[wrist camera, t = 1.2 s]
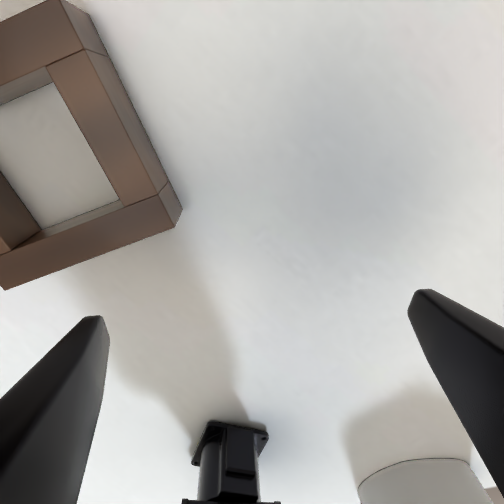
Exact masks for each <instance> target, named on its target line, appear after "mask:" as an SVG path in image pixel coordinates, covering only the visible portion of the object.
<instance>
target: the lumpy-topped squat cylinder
mask: <svg viewBox="0 0 504 504" xmlns="http://www.w3.org/2000/svg"><path fill="white" fill-rule="evenodd" d="M358 495H359V498H360V502H361V504H494V503H493V502H492V500H491V499H490V497H489V496H488V494H487V493H486V491H485V489H484V488H483V486H482V485H481V483H480V482H479V480H478V478H477V477H476V475H475V474H474V472H473V471H472V469H471V468H470V466H469V465H468V464H467V463H466V462H464V461H462V460H458V459H420V460H410V461H405V462H401V463H398V464H395V465H392V466H390V467H387V468H385V469H382V470H380V471H378V472H376V473H374V474H373V475H371V476H370V477H368V478H367V479H366V480H365V481H364V482H363V483H362V484H361V485H360V486H359V489H358Z"/></svg>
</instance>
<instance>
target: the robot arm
mask: <svg viewBox="0 0 504 504" xmlns="http://www.w3.org/2000/svg"><path fill="white" fill-rule="evenodd" d="M408 317H409V320H410V322H411V324H412V327H413V329H414V331H415V334H416V336H417V338H418V340H419V343H420V345H421V347H422V350H423V352H424V354H425V356H426V359H427V361H428V363H429V365H430V367H431V368H432V370H433V372H434V374H435V376H436V377H437V379H438V381H439V383H440V385H441V386H442V388H443V390H444V392H445V394H446V395H447V397H448V399H449V401H450V403H451V404H452V406H453V408H454V410H455V412H456V413H457V415H458V417H459V419H460V421H461V422H462V424H463V426H464V428H465V429H466V431H467V433H468V435H469V437H470V438H471V440H472V442H473V444H474V446H475V447H476V449H477V451H478V453H479V455H480V456H481V458H482V460H483V462H484V464H485V465H486V467H487V469H488V471H489V472H490V474H491V476H492V478H493V480H494V481H495V483H496V485H497V487H498V489H499V490H500V492H501V494H502V496H503V498H504V327H502V326H500V325H498V324H496V323H494V322H492V321H490V320H489V319H487V318H485V317H483V316H481V315H479V314H477V313H475V312H473V311H472V310H470V309H468V308H466V307H464V306H462V305H460V304H458V303H457V302H455V301H453V300H451V299H449V298H447V297H445V296H443V295H442V294H440V293H438V292H436V291H434V290H432V289H420V290H417V291H416V292H415V293H414V295H413V298H412V300H411V303H410V305H409V307H408ZM109 346H110V338H109V334H108V331H107V328H106V325H105V322H104V319H103V317H102V316H100V315H97V316H87V317H84V318H83V319H82V320H81V321H80V322H79V323H78V324H77V325H76V326H75V327H74V328H73V329H71V330H70V331H69V332H68V333H67V334H66V335H65V336H64V337H63V338H62V339H61V340H60V341H59V342H58V343H57V344H56V345H55V346H54V347H53V348H52V349H51V350H50V351H49V352H48V353H47V354H46V355H45V356H44V357H43V358H42V359H41V360H40V361H39V362H38V363H37V364H36V365H35V366H33V367H32V368H31V369H30V370H29V371H28V372H27V373H26V374H25V375H24V376H23V377H22V378H21V379H20V380H19V381H18V382H17V383H16V384H15V385H14V386H13V387H12V388H11V389H10V390H9V391H8V392H7V393H6V394H5V395H4V396H3V397H2V398H1V399H0V504H77V500H78V496H79V492H80V488H81V484H82V480H83V476H84V472H85V468H86V464H87V460H88V456H89V452H90V448H91V444H92V440H93V436H94V432H95V428H96V424H97V420H98V416H99V412H100V408H101V403H102V399H103V392H104V385H105V377H106V369H107V361H108V354H109ZM268 439H269V436H268V433H267V432H264V431H259V430H254V429H249V428H244V427H238V426H233V425H228V424H223V423H218V422H208V423H207V425H206V427H205V429H204V431H203V434H202V436H201V438H200V441H199V443H198V445H197V447H196V450H195V452H194V454H193V457H192V461H191V464H192V465H194V466H199V467H200V472H199V483H198V495H197V500H188V499H182V504H281V502H279V501H274V503H271V502H261V499H260V484H259V470H258V457H259V455H260V453H261V452H262V450H263V448H264V446H265V445H266V443H267V441H268Z"/></svg>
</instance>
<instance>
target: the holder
mask: <svg viewBox="0 0 504 504" xmlns="http://www.w3.org/2000/svg"><path fill="white" fill-rule="evenodd" d="M52 82H54V84H55V85H56V87H57V89H58V91H59V93H60V94H61V96H62V98H63V100H64V101H65V103H66V105H67V107H68V108H69V110H70V112H71V114H72V116H73V117H74V119H75V121H76V123H77V124H78V126H79V128H80V130H81V131H82V133H83V135H84V137H85V139H86V140H87V142H88V144H89V146H90V147H91V149H92V151H93V153H94V154H95V156H96V158H97V160H98V162H99V163H100V165H101V167H102V169H103V170H104V172H105V174H106V176H107V177H108V179H109V181H110V183H111V185H112V186H113V188H114V190H115V192H116V193H117V195H118V197H119V199H120V200H118V201H116V202H113V203H110V204H108V205H105V206H103V207H100V208H98V209H95V210H92V211H90V212H87V213H85V214H82V215H80V216H77V217H75V218H72V219H69V220H67V221H64V222H62V223H59V224H57V225H54V226H51V227H49V228H46V229H44V230H41V229H40V227H39V226H38V224H37V223H36V221H35V220H34V219H33V217H32V216H31V214H30V213H29V212H28V210H27V209H26V207H25V206H24V204H23V203H22V202H21V200H20V199H19V197H18V196H17V195H16V193H15V192H14V190H13V189H12V188H11V186H10V185H9V183H8V182H7V180H6V179H5V178H4V176H3V175H2V173H1V172H0V286H1V287H2V288H3V289H4V290H8V289H11V288H13V287H16V286H19V285H21V284H24V283H27V282H30V281H32V280H35V279H38V278H40V277H43V276H46V275H48V274H51V273H54V272H56V271H59V270H62V269H64V268H67V267H70V266H72V265H75V264H78V263H80V262H83V261H86V260H89V259H91V258H94V257H97V256H99V255H102V254H105V253H107V252H110V251H113V250H115V249H118V248H121V247H123V246H126V245H129V244H131V243H134V242H137V241H139V240H142V239H145V238H147V237H150V236H153V235H156V234H158V233H161V232H164V231H166V230H169V229H172V228H174V227H175V226H176V223H177V221H178V219H179V217H180V215H181V212H182V210H183V209H182V207H181V205H180V203H179V201H178V199H177V197H176V195H175V192H174V190H173V188H172V186H171V184H170V182H169V181H168V178H167V176H166V174H165V172H164V170H163V168H162V165H161V163H160V161H159V159H158V157H157V155H156V153H155V151H154V149H153V147H152V145H151V143H150V141H149V139H148V136H147V134H146V132H145V130H144V128H143V126H142V124H141V122H140V120H139V118H138V116H137V114H136V112H135V110H134V108H133V105H132V103H131V101H130V99H129V97H128V95H127V93H126V91H125V89H124V87H123V85H122V83H121V81H120V79H119V76H118V74H117V72H116V70H115V68H114V66H113V64H112V62H111V60H110V58H109V56H108V54H107V52H106V50H105V48H104V45H103V43H102V41H101V39H100V37H99V35H98V33H97V31H96V29H95V27H94V25H93V23H92V21H91V19H90V17H89V15H88V14H87V13H86V12H84V11H82V10H81V9H79V8H77V7H76V6H74V5H72V4H71V3H69V2H67V1H66V0H46V1H44V2H42V3H40V4H38V5H36V6H33V7H31V8H29V9H27V10H25V11H23V12H21V13H19V14H17V15H14V16H12V17H10V18H8V19H6V20H4V21H2V22H0V105H2V104H4V103H6V102H9V101H11V100H13V99H15V98H18V97H20V96H22V95H24V94H27V93H29V92H31V91H34V90H36V89H38V88H40V87H43V86H45V85H47V84H49V83H52Z"/></svg>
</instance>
